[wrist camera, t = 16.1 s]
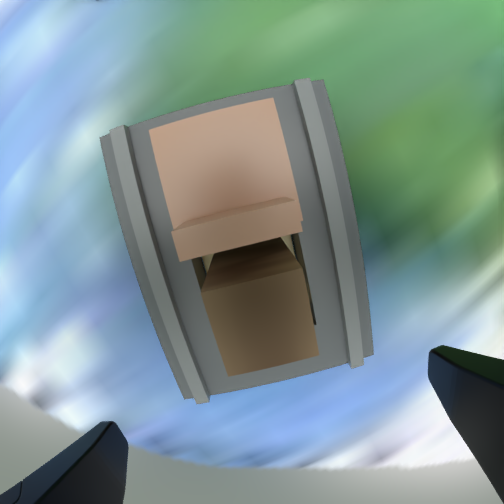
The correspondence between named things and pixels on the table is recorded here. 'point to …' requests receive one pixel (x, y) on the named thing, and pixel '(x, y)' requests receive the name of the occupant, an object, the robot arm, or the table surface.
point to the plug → (259, 307)
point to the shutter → (226, 179)
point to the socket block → (305, 243)
